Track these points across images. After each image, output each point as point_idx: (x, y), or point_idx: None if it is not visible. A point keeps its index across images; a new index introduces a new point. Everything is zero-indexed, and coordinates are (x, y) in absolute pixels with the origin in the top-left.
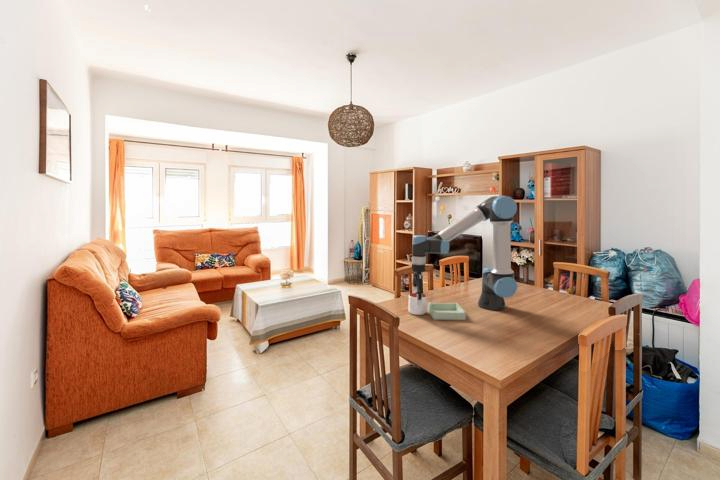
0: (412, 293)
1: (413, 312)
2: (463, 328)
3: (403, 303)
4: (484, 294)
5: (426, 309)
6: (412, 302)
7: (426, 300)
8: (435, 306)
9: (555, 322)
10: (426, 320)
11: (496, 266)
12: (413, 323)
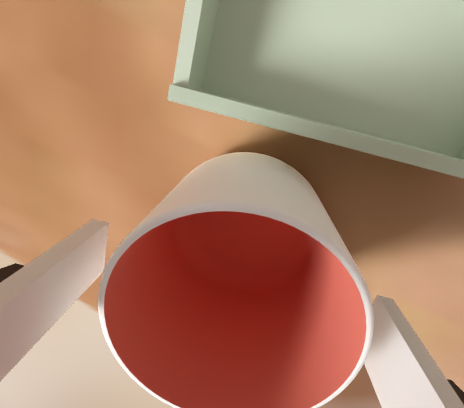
0: (116, 344)
1: (292, 283)
2: None
3: (14, 229)
4: None
5: (293, 171)
6: (290, 356)
7: (323, 216)
8: (211, 11)
9: None
10: (435, 232)
11: None
12: (443, 335)
